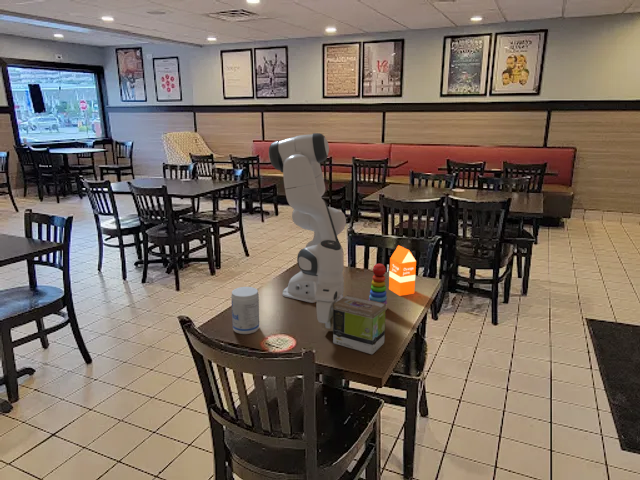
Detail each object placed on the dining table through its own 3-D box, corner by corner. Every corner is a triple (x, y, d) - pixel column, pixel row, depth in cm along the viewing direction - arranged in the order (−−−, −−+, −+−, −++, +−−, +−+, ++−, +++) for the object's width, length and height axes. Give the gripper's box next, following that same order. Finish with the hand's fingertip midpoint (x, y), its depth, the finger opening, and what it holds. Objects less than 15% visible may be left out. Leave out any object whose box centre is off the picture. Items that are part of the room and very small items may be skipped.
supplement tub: (227, 328, 165) (225, 290, 161) (249, 320, 171) (247, 284, 167) (242, 338, 158) (241, 298, 154) (265, 329, 164) (263, 291, 161)
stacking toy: (388, 313, 178) (390, 267, 173) (367, 312, 178) (369, 267, 173) (386, 305, 185) (388, 261, 180) (366, 304, 186) (368, 260, 181)
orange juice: (399, 296, 195) (401, 251, 189) (388, 289, 202) (390, 245, 197) (414, 293, 198) (417, 249, 192) (403, 286, 205) (405, 243, 200)
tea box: (385, 343, 155) (386, 302, 151) (372, 355, 147) (373, 313, 143) (346, 332, 163) (347, 293, 159) (331, 343, 154) (332, 303, 150)
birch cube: (322, 329, 160) (322, 316, 159) (326, 323, 165) (326, 311, 164) (336, 331, 159) (336, 318, 158) (339, 325, 164) (339, 312, 162)
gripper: (330, 276, 168) (330, 310, 172) (313, 297, 149) (313, 335, 153) (347, 277, 166) (346, 312, 170) (331, 299, 148) (331, 337, 151)
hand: (331, 323), depth 161 cm, fingers closed on birch cube, 5 cm apart
